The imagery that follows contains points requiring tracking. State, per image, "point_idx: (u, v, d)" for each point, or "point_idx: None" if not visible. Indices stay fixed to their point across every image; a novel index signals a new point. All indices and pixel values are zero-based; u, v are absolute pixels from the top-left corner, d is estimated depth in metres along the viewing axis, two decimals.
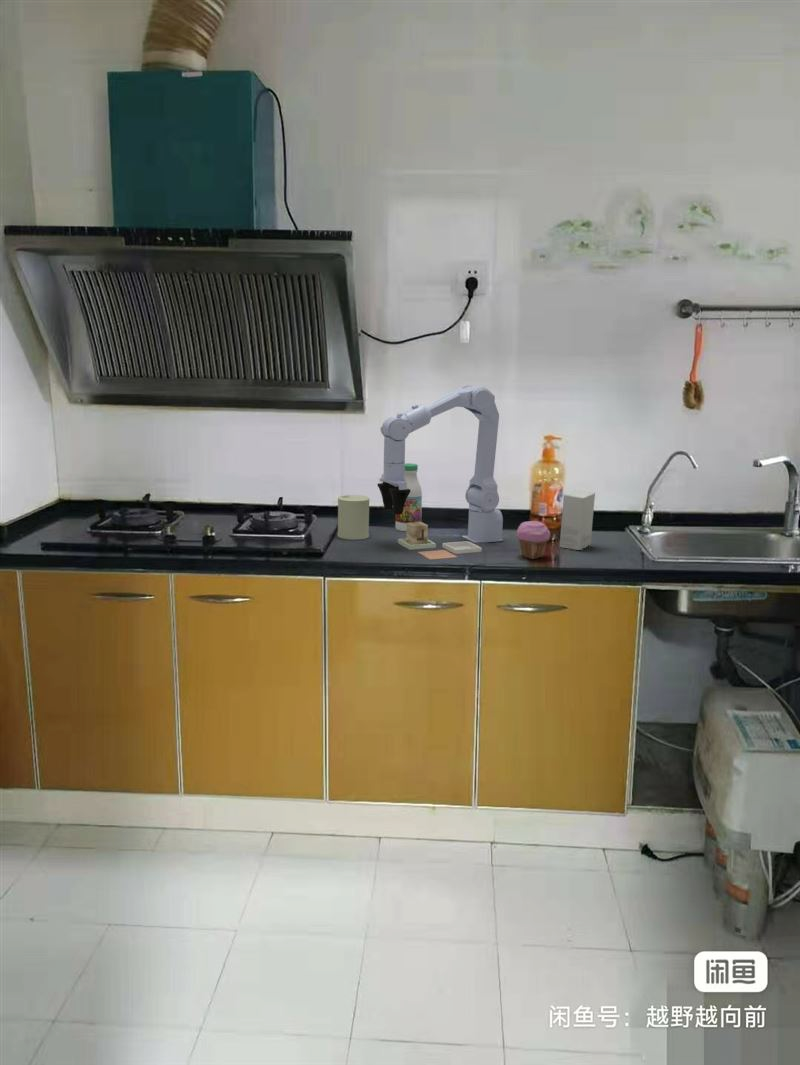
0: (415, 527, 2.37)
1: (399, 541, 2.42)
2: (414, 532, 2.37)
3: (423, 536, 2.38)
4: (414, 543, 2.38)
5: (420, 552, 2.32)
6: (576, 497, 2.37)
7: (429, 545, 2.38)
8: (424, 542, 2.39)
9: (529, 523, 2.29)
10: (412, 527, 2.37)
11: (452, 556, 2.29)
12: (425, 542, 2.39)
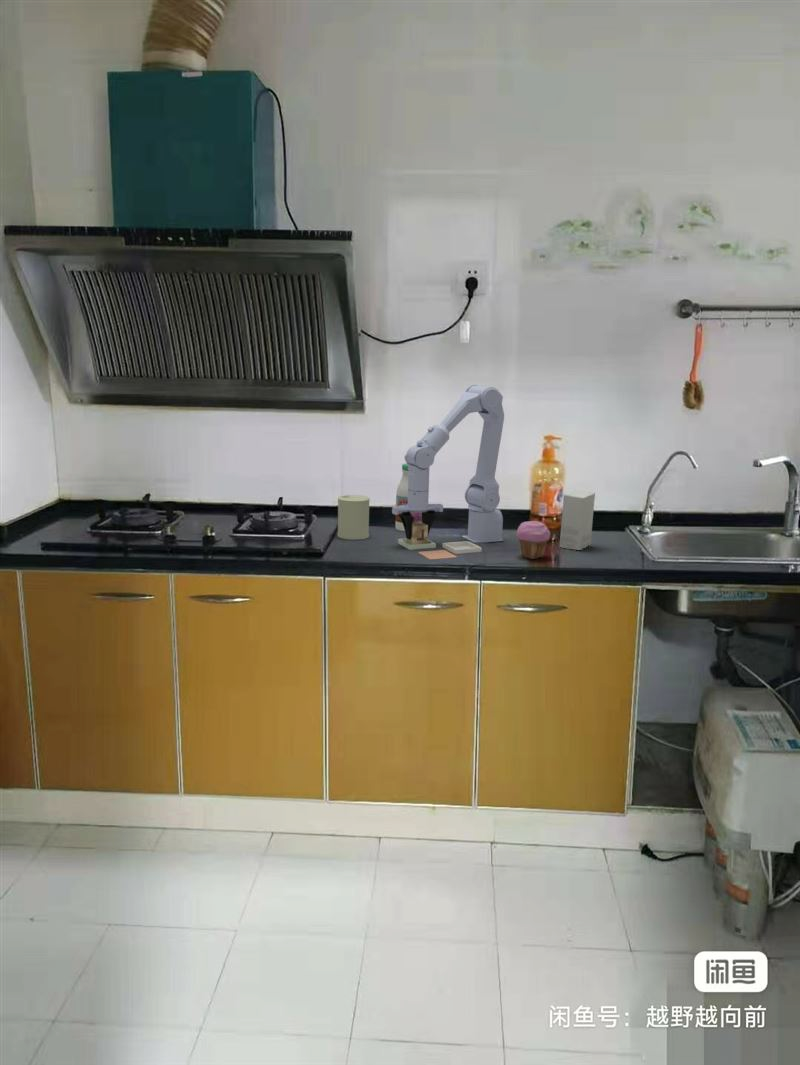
0: (415, 527, 2.37)
1: (399, 541, 2.42)
2: (414, 532, 2.37)
3: (423, 536, 2.38)
4: (414, 543, 2.38)
5: (420, 552, 2.32)
6: (576, 497, 2.37)
7: (429, 545, 2.38)
8: (424, 542, 2.39)
9: (529, 523, 2.29)
10: (412, 527, 2.37)
11: (452, 556, 2.29)
12: (425, 542, 2.39)
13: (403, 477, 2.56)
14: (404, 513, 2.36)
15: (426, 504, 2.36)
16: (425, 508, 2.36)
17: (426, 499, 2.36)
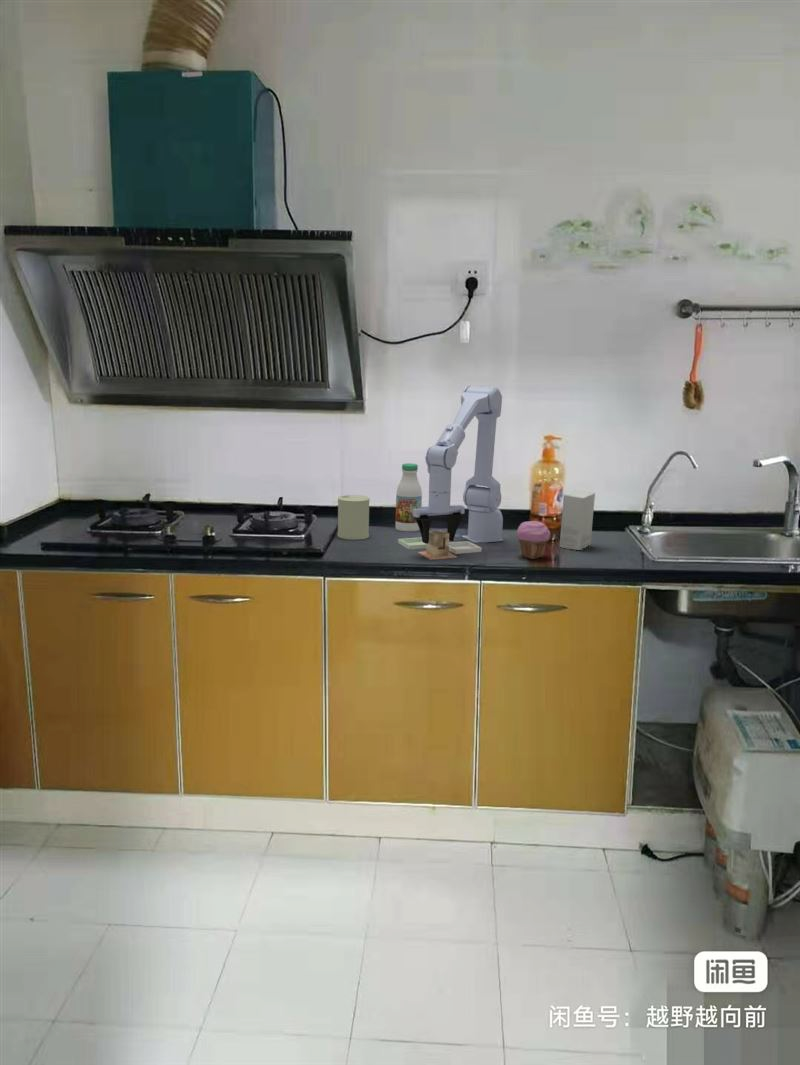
0: (436, 536, 2.27)
1: (399, 541, 2.42)
2: (435, 541, 2.27)
3: (444, 545, 2.29)
4: (435, 552, 2.28)
5: (420, 552, 2.32)
6: (576, 497, 2.37)
7: None
8: (445, 551, 2.29)
9: (529, 523, 2.29)
10: (433, 536, 2.27)
11: (452, 556, 2.29)
12: (446, 551, 2.29)
13: (403, 477, 2.56)
14: (426, 516, 2.26)
15: (448, 506, 2.26)
16: (447, 510, 2.26)
17: (448, 501, 2.26)
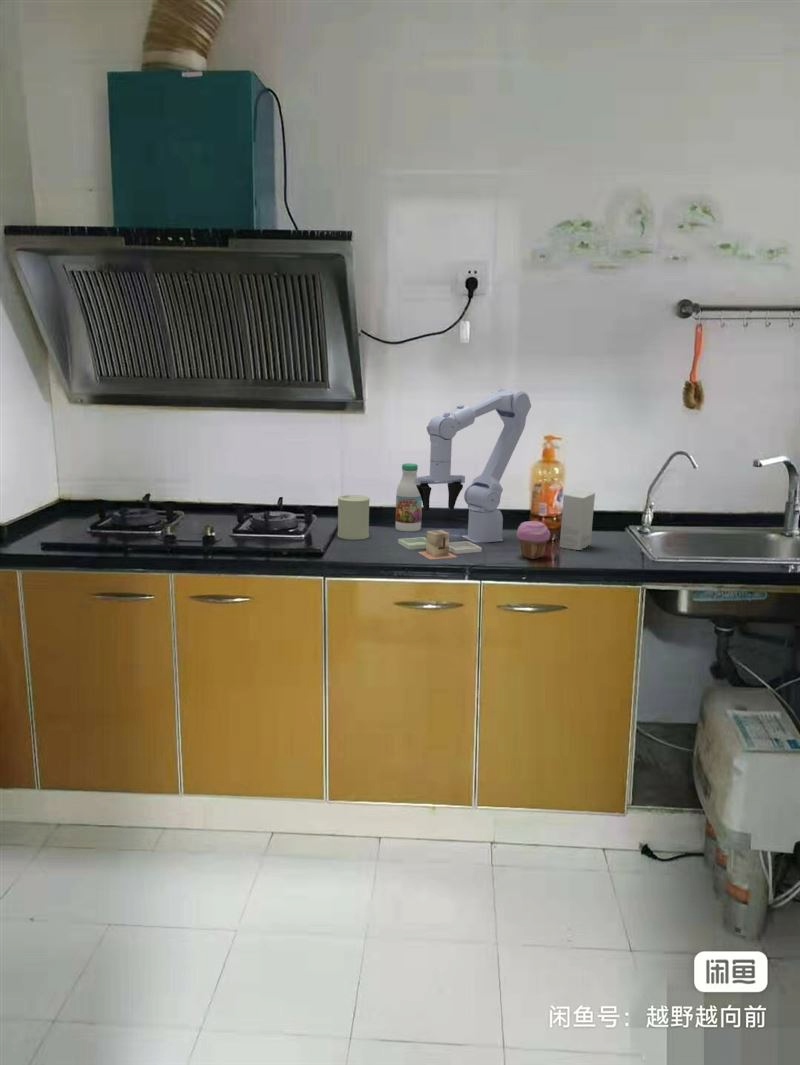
0: (436, 536, 2.27)
1: (399, 541, 2.42)
2: (435, 541, 2.27)
3: (444, 545, 2.29)
4: (435, 552, 2.28)
5: (420, 552, 2.32)
6: (576, 497, 2.37)
7: None
8: (445, 551, 2.29)
9: (529, 523, 2.29)
10: (433, 536, 2.27)
11: (452, 556, 2.29)
12: (446, 551, 2.29)
13: (403, 477, 2.56)
14: (426, 484, 2.36)
15: (448, 475, 2.36)
16: (447, 479, 2.36)
17: (448, 470, 2.36)
